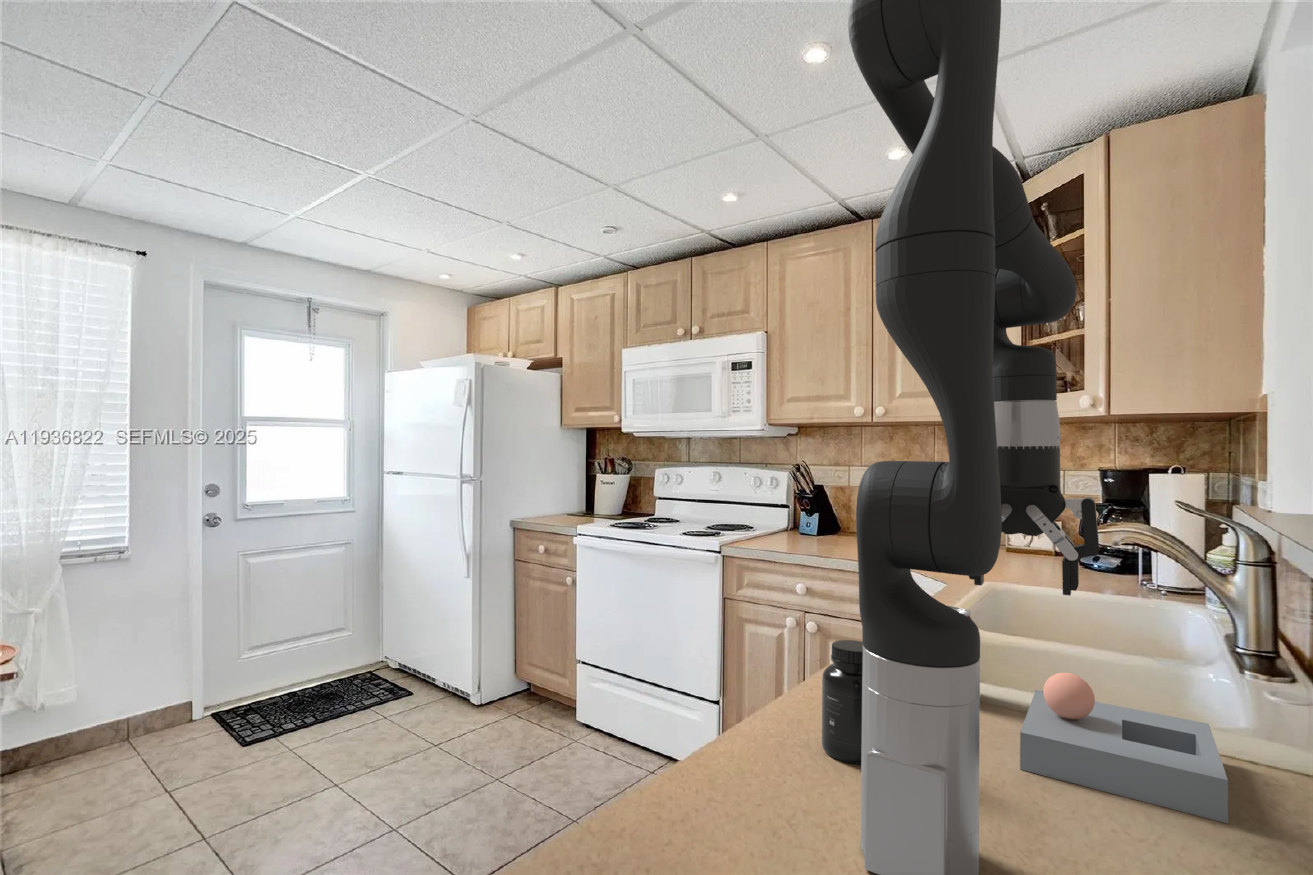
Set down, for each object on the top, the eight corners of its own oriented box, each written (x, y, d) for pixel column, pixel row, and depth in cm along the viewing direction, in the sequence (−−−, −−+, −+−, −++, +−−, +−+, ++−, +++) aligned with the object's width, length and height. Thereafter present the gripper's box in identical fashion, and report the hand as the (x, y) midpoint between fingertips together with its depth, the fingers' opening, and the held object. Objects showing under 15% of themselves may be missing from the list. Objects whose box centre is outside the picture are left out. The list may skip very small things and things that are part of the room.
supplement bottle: (809, 742, 76) (811, 639, 76) (858, 735, 78) (859, 635, 78) (845, 770, 69) (846, 657, 70) (897, 760, 72) (898, 651, 72)
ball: (1094, 730, 71) (1094, 684, 71) (1041, 719, 74) (1041, 675, 74) (1095, 716, 75) (1095, 672, 75) (1045, 705, 78) (1045, 663, 78)
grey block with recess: (1228, 823, 60) (1227, 780, 60) (1020, 769, 70) (1020, 732, 70) (1209, 759, 73) (1208, 723, 73) (1035, 721, 83) (1035, 689, 83)
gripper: (944, 443, 73) (945, 587, 73) (1097, 443, 65) (1099, 605, 65) (956, 442, 79) (958, 575, 79) (1098, 442, 71) (1099, 590, 71)
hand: (1021, 588), depth 72 cm, fingers open, 8 cm apart
